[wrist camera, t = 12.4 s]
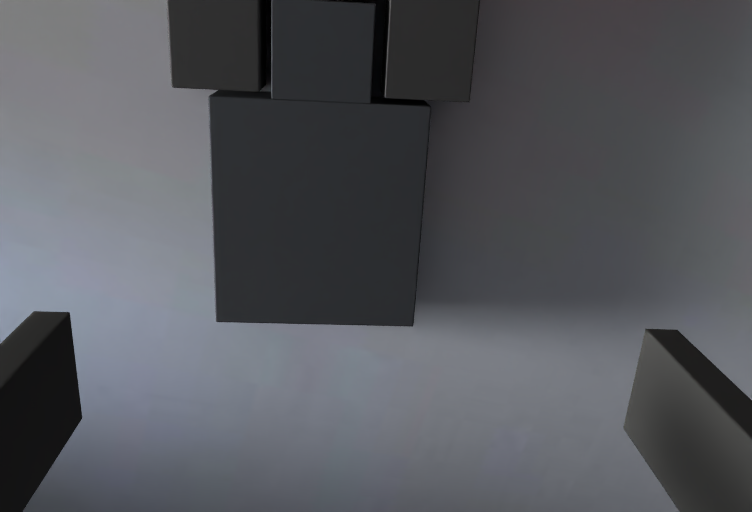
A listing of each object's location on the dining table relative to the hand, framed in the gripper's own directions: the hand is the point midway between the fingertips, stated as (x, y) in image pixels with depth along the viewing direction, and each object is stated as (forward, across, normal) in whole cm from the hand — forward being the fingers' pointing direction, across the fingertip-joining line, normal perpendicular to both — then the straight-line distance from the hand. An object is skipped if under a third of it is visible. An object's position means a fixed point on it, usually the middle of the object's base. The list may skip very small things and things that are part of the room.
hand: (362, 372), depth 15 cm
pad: (+16, -2, +1) cm, 16 cm away
